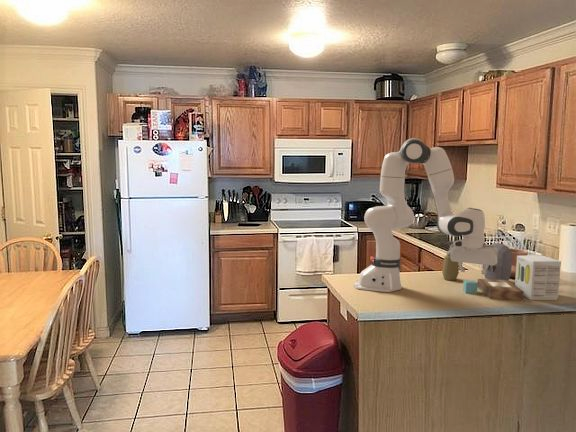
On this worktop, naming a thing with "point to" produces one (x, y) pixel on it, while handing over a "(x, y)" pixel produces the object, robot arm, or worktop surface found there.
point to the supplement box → (538, 277)
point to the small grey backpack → (500, 264)
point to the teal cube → (470, 286)
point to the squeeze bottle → (450, 267)
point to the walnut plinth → (500, 289)
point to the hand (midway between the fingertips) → (473, 272)
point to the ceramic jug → (514, 259)
